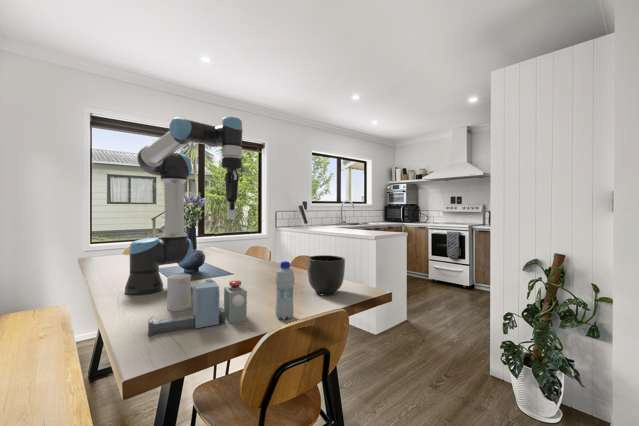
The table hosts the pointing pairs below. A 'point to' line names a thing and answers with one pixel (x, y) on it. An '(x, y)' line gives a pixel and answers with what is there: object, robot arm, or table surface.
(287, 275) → the bottle
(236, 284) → the plunger
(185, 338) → the table surface
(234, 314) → the cabinet
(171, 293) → the cup
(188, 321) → the rail
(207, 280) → the frog figurine
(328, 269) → the planter
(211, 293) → the carriage
